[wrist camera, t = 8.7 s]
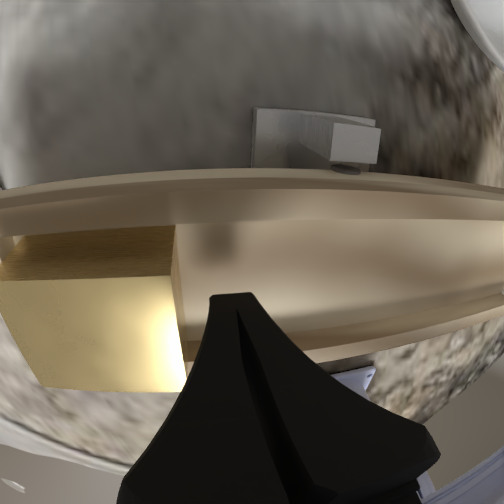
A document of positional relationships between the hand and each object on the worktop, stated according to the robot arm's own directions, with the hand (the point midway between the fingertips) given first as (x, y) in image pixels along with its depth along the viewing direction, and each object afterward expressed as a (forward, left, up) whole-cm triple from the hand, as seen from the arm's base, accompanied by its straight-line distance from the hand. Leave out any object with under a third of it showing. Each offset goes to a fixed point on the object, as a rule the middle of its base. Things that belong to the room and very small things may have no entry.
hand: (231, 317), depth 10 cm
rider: (0, +5, -2) cm, 5 cm away
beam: (0, -5, -3) cm, 6 cm away
